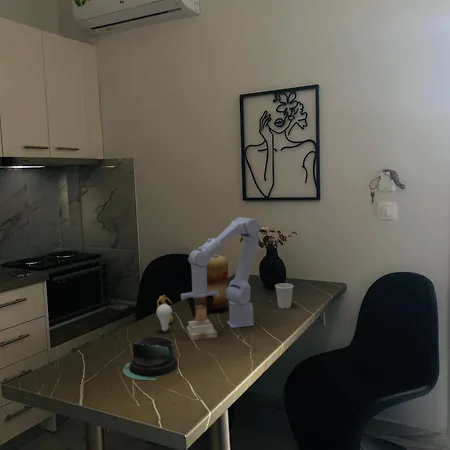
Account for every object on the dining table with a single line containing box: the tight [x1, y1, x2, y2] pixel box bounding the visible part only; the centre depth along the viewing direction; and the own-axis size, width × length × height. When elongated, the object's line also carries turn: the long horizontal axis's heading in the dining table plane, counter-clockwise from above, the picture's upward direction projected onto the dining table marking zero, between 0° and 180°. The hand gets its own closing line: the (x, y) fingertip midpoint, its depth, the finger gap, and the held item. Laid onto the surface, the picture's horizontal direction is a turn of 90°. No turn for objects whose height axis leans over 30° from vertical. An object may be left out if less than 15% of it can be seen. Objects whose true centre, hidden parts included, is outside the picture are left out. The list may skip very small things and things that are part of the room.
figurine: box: [156, 294, 174, 324], centre depth 198 cm, size 8×6×12 cm
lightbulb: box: [156, 303, 173, 332], centre depth 188 cm, size 6×6×11 cm
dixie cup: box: [274, 282, 294, 310], centre depth 216 cm, size 8×8×10 cm
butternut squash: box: [199, 254, 229, 311], centre depth 214 cm, size 14×13×25 cm
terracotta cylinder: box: [194, 304, 208, 322], centre depth 183 cm, size 5×5×5 cm
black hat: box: [122, 336, 180, 381], centre depth 154 cm, size 20×20×9 cm
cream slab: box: [187, 318, 214, 334], centre depth 184 cm, size 8×8×2 cm
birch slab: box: [186, 326, 218, 341], centre depth 184 cm, size 10×10×2 cm
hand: (200, 315), depth 183 cm, fingers open, 5 cm apart
